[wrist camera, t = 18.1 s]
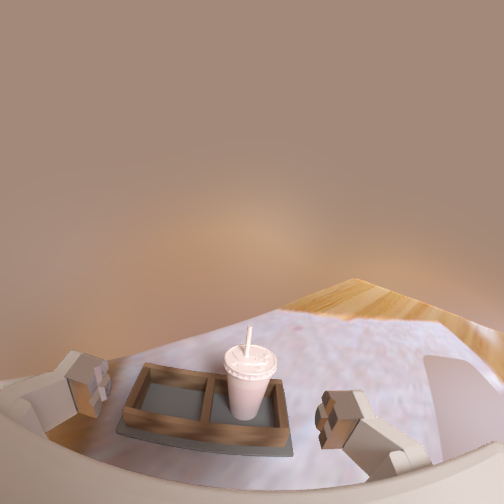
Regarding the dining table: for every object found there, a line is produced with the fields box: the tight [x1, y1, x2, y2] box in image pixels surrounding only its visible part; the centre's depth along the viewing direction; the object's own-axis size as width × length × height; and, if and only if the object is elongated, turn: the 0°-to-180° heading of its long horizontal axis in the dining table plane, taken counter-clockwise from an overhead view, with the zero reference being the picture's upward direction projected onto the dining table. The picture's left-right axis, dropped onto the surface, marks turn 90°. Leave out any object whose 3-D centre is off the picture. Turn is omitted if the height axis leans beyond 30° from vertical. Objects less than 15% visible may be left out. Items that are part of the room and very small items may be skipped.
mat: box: [116, 383, 293, 457], centre depth 34 cm, size 22×13×1 cm, turn 90°
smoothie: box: [224, 325, 277, 421], centre depth 33 cm, size 6×6×14 cm
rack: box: [122, 363, 289, 447], centre depth 34 cm, size 20×10×3 cm, turn 90°
